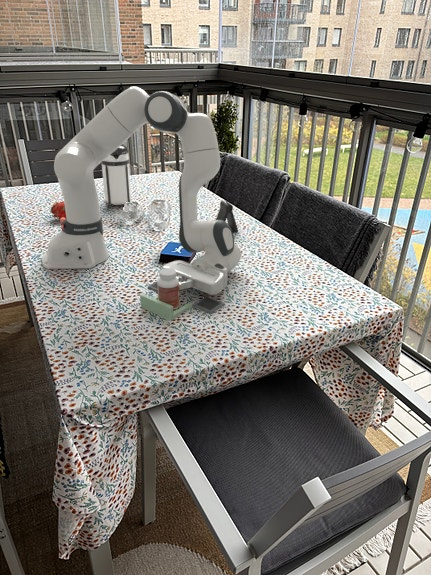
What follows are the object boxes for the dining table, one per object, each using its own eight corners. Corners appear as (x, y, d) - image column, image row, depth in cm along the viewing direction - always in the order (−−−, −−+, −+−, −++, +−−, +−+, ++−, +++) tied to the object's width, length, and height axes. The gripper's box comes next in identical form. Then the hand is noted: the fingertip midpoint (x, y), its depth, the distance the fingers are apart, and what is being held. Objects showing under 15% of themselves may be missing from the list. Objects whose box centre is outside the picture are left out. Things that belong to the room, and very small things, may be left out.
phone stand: (218, 234, 180) (218, 205, 174) (212, 229, 185) (213, 201, 179) (238, 231, 183) (239, 203, 177) (232, 226, 188) (233, 199, 182)
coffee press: (142, 202, 213) (139, 137, 199) (119, 211, 201) (113, 142, 187) (115, 196, 221) (110, 132, 207) (91, 204, 209) (84, 137, 195)
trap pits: (162, 280, 144) (161, 278, 143) (224, 304, 131) (224, 302, 131) (147, 287, 139) (147, 285, 139) (210, 314, 126) (210, 312, 126)
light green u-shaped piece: (164, 293, 136) (163, 282, 134) (193, 306, 130) (193, 294, 128) (140, 307, 129) (140, 295, 127) (170, 320, 123) (170, 308, 121)
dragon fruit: (49, 223, 190) (78, 224, 195) (51, 217, 182) (81, 218, 187) (48, 204, 191) (77, 205, 196) (50, 197, 183) (80, 199, 188)
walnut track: (200, 273, 149) (200, 270, 148) (228, 283, 143) (228, 280, 142) (177, 286, 140) (176, 283, 140) (205, 298, 134) (205, 295, 134)
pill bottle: (183, 308, 129) (182, 273, 124) (163, 313, 126) (162, 278, 121) (174, 298, 134) (173, 265, 128) (154, 303, 131) (153, 269, 126)
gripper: (179, 252, 143) (149, 266, 133) (231, 270, 133) (203, 287, 123) (179, 269, 146) (150, 285, 136) (230, 288, 136) (203, 306, 126)
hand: (175, 286), depth 130 cm, fingers closed, pressing on pill bottle
